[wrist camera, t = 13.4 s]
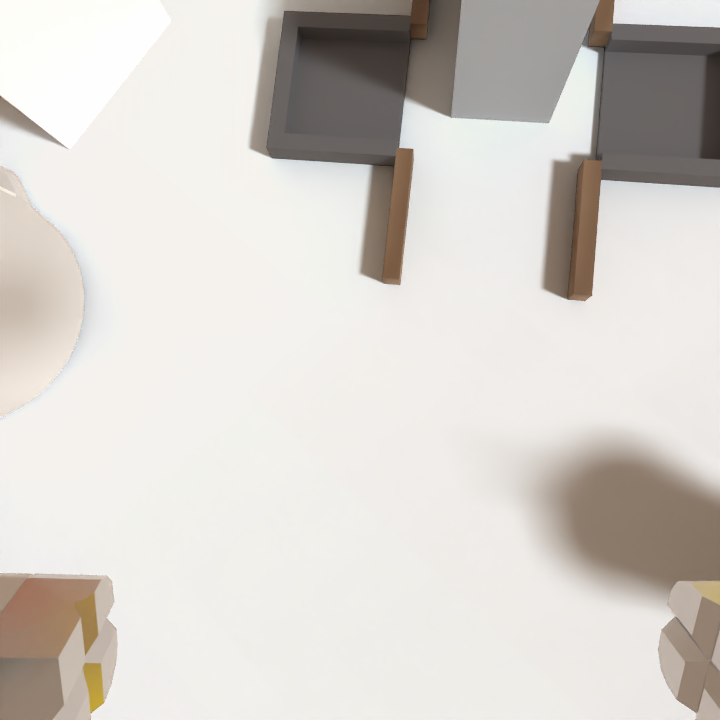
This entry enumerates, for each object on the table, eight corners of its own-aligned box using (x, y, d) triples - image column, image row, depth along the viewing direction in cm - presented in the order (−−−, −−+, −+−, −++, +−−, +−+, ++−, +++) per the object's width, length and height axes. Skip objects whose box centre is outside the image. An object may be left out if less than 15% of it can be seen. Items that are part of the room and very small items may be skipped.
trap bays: (272, 158, 40) (266, 147, 38) (289, 26, 41) (284, 10, 39) (734, 188, 37) (747, 178, 35) (742, 44, 38) (755, 29, 36)
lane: (351, 280, 38) (343, 263, 34) (397, -120, 41) (394, -179, 37) (619, 303, 37) (643, 288, 33) (650, -117, 39) (675, -178, 35)
